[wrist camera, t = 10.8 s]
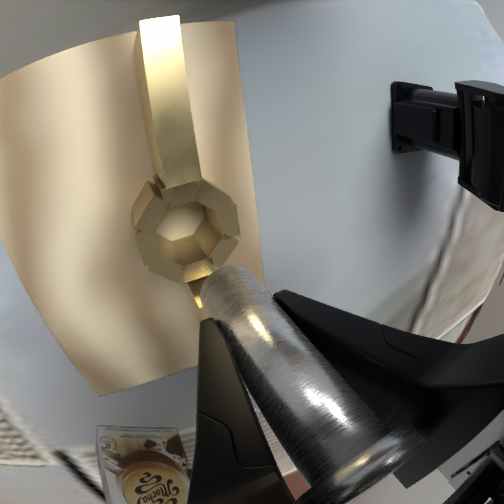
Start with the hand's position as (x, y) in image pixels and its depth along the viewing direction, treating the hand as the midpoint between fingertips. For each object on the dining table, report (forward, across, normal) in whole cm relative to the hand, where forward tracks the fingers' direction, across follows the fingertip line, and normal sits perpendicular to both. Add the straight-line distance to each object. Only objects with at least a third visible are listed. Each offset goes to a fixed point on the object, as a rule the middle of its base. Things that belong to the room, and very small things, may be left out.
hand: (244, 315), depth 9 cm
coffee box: (+11, +12, +23) cm, 28 cm away
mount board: (+10, +3, +1) cm, 11 cm away
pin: (+1, 0, 0) cm, 1 cm away
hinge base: (+10, 0, -4) cm, 10 cm away
